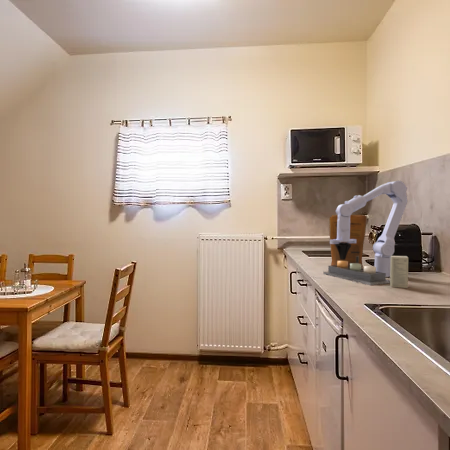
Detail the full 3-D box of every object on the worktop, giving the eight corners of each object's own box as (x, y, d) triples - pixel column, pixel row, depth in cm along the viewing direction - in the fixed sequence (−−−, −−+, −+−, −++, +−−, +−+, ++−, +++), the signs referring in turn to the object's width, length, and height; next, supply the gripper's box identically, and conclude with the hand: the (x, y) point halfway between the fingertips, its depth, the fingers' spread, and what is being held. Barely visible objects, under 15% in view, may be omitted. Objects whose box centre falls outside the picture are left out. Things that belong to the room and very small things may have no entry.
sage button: (355, 270, 166) (355, 262, 166) (363, 271, 162) (363, 264, 162) (347, 270, 164) (347, 263, 164) (355, 272, 160) (355, 264, 160)
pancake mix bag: (365, 269, 190) (366, 214, 189) (327, 266, 197) (328, 214, 196) (365, 267, 196) (367, 214, 195) (329, 264, 204) (330, 214, 202)
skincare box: (406, 286, 147) (407, 256, 147) (408, 288, 143) (409, 257, 143) (389, 284, 149) (390, 255, 149) (390, 287, 145) (391, 256, 145)
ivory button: (369, 273, 159) (369, 265, 159) (378, 275, 155) (378, 267, 155) (361, 273, 157) (361, 265, 157) (369, 275, 153) (370, 267, 153)
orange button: (342, 267, 174) (342, 260, 173) (350, 269, 169) (350, 261, 169) (334, 268, 171) (335, 261, 171) (342, 269, 167) (342, 262, 167)
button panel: (342, 272, 178) (342, 264, 178) (391, 283, 153) (391, 273, 153) (323, 273, 173) (323, 265, 173) (370, 285, 148) (370, 275, 148)
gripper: (348, 229, 176) (348, 257, 177) (325, 229, 170) (324, 258, 171) (360, 230, 170) (359, 259, 171) (336, 230, 164) (335, 260, 164)
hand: (342, 259), depth 170 cm, fingers closed
